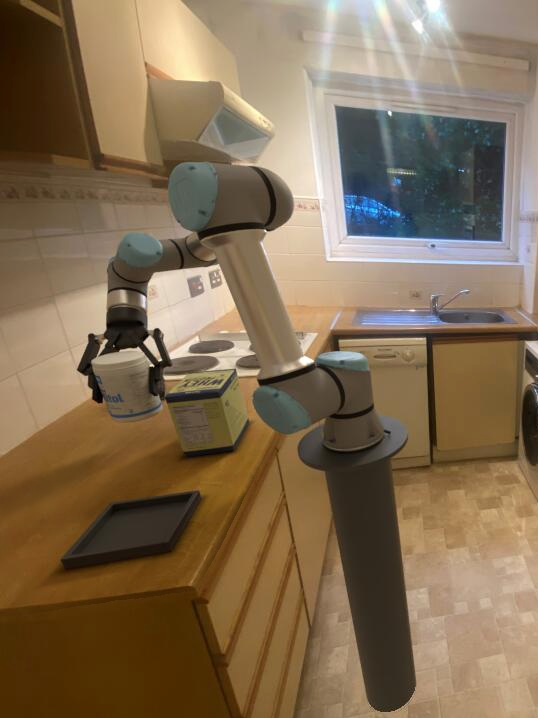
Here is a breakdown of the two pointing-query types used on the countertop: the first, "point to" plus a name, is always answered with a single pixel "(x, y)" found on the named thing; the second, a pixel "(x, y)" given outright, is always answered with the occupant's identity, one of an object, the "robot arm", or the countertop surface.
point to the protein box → (208, 412)
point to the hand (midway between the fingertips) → (126, 397)
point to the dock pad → (133, 529)
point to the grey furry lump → (161, 388)
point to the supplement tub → (126, 386)
